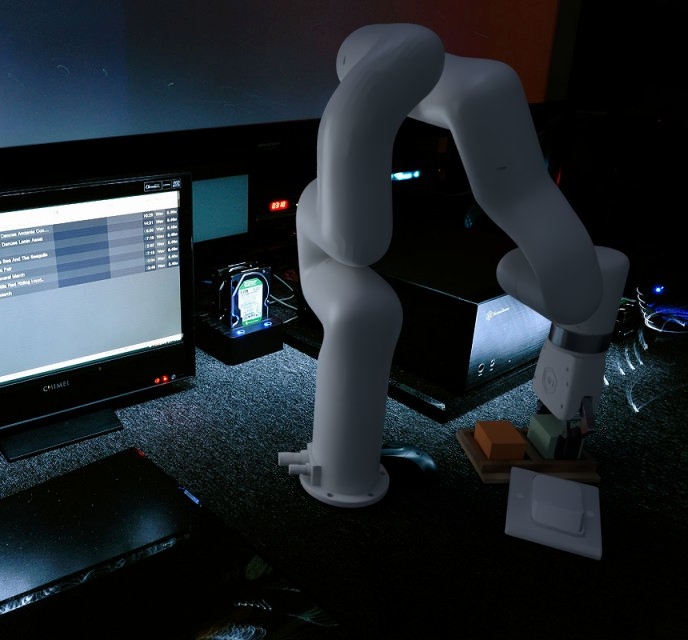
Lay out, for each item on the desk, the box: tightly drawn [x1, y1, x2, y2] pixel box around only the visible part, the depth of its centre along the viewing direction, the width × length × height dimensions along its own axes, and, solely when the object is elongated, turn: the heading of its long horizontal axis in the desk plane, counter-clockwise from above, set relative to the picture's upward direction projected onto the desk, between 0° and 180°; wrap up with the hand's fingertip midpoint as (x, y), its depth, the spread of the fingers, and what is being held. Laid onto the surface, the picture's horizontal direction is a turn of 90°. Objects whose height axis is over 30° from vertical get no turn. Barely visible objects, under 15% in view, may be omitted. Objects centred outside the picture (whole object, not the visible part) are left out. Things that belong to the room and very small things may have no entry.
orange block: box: [474, 420, 527, 461], centre depth 99 cm, size 5×6×4 cm
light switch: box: [504, 467, 603, 561], centre depth 87 cm, size 11×4×13 cm
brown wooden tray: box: [455, 427, 601, 484], centre depth 99 cm, size 16×12×2 cm
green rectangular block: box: [527, 413, 586, 460], centre depth 98 cm, size 5×6×4 cm
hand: (554, 444), depth 99 cm, fingers closed on green rectangular block, 5 cm apart
